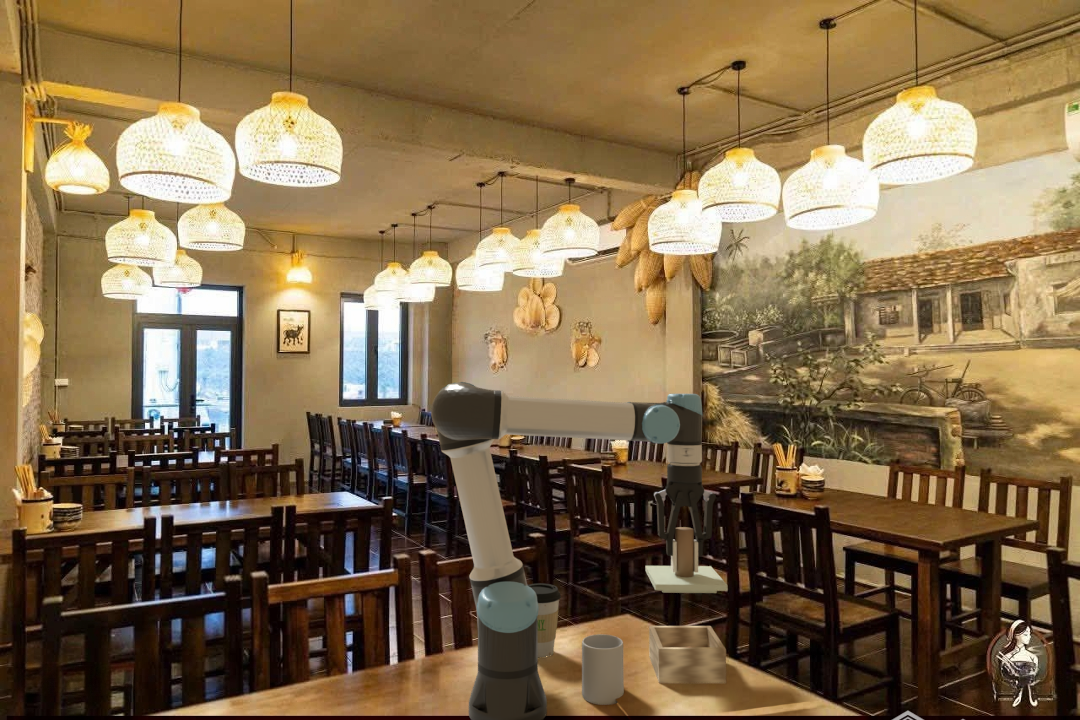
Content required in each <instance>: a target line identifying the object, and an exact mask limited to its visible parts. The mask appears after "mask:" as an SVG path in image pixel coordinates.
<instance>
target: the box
mask: <svg viewBox="0 0 1080 720" xmlns="http://www.w3.org/2000/svg"><path fill="white" fill-rule="evenodd" d="M648 635H649V636H648V638H649V639H648V641H649V642H648V643H649V645H648V647H649V648H648V651H649V652H648V653H649V654H648V655H649V656H648V657H649V660H650V663H651V666H652V668H653V671H654V673H655V676H656V679H657V682H658V683H659V684H727V649H726V647H725V645H724V644H723V643H722V641H721V640H720V638H719V636H718V635H717V633H716V632H715V631H714V629H713V627H712V626H711V625H649V626H648Z"/></svg>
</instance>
